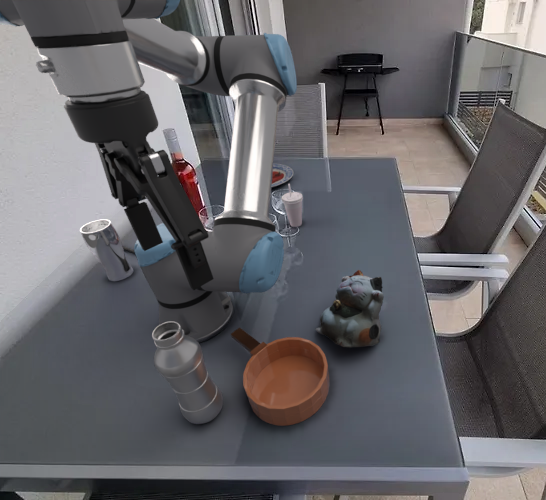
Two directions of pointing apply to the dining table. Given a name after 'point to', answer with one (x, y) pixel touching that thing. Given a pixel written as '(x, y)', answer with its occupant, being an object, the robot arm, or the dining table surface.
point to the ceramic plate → (281, 174)
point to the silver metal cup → (107, 248)
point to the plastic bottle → (186, 373)
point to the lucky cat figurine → (354, 312)
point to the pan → (287, 381)
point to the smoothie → (293, 207)
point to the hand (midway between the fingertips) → (175, 263)
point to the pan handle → (247, 341)
